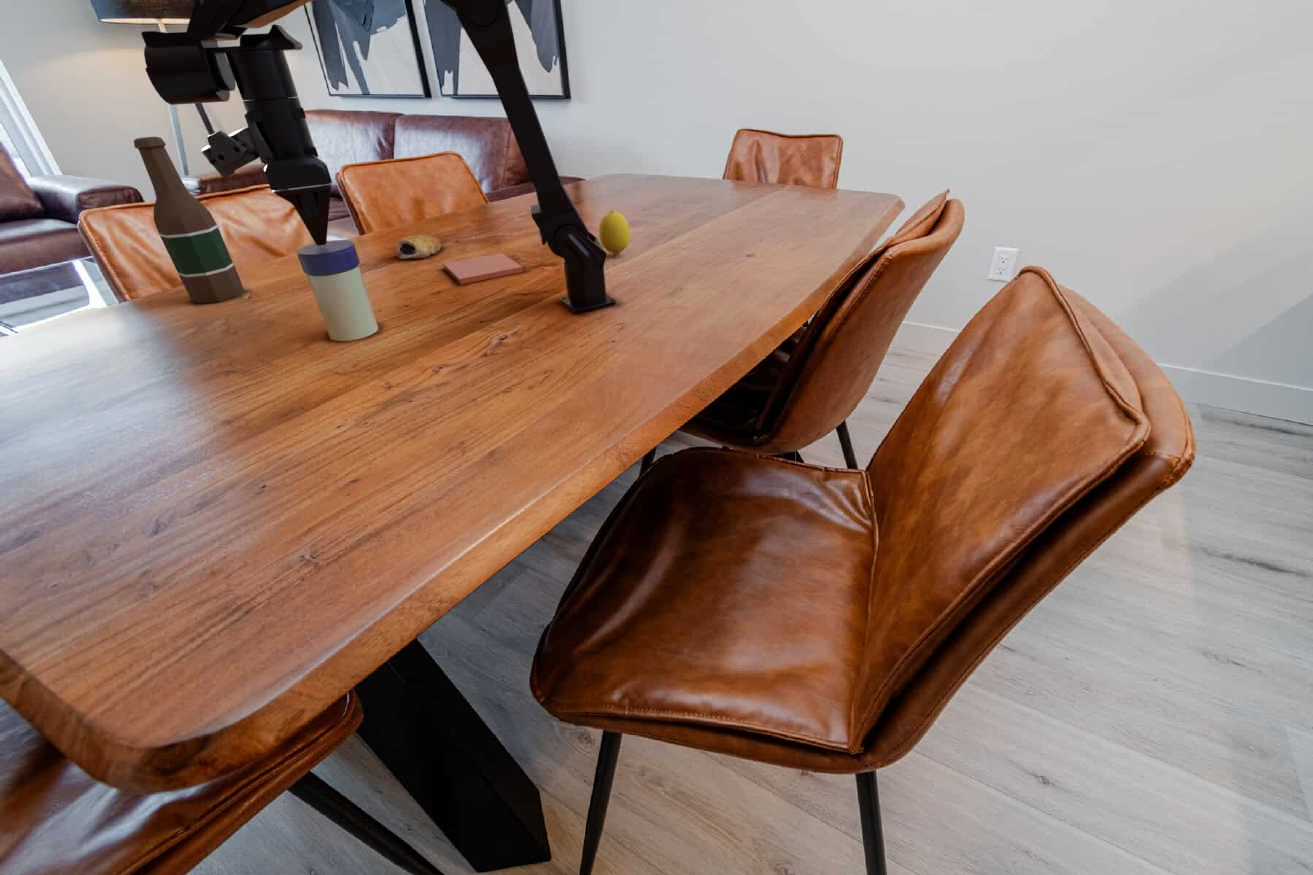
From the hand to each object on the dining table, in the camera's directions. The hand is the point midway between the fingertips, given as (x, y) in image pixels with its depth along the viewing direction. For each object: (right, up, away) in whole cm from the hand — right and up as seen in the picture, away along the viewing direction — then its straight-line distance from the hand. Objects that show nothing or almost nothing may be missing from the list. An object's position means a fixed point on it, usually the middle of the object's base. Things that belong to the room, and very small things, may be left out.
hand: (318, 238), depth 77 cm
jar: (+1, -11, +7) cm, 13 cm away
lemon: (+36, +8, +34) cm, 50 cm away
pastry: (-3, +10, +41) cm, 42 cm away
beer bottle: (-30, -2, +24) cm, 39 cm away
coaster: (+13, +4, +29) cm, 32 cm away
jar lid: (+1, -1, +1) cm, 2 cm away
